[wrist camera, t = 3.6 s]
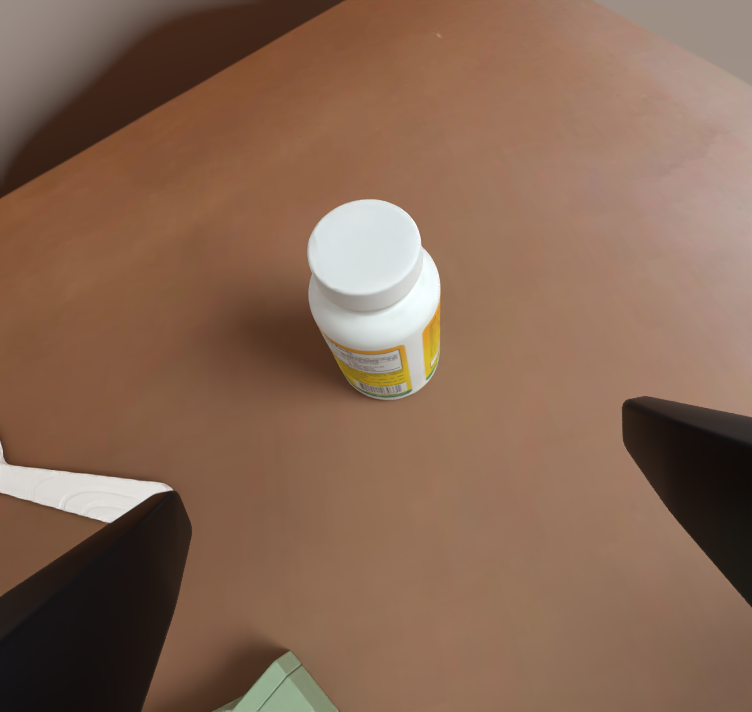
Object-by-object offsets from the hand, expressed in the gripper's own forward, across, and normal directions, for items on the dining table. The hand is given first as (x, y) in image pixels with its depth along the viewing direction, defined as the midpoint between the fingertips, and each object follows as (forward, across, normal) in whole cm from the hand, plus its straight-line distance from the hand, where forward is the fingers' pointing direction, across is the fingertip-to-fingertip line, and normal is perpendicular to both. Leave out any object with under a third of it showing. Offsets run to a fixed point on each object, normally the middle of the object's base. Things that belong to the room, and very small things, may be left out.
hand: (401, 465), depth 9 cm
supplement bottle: (+15, 0, +3) cm, 16 cm away
